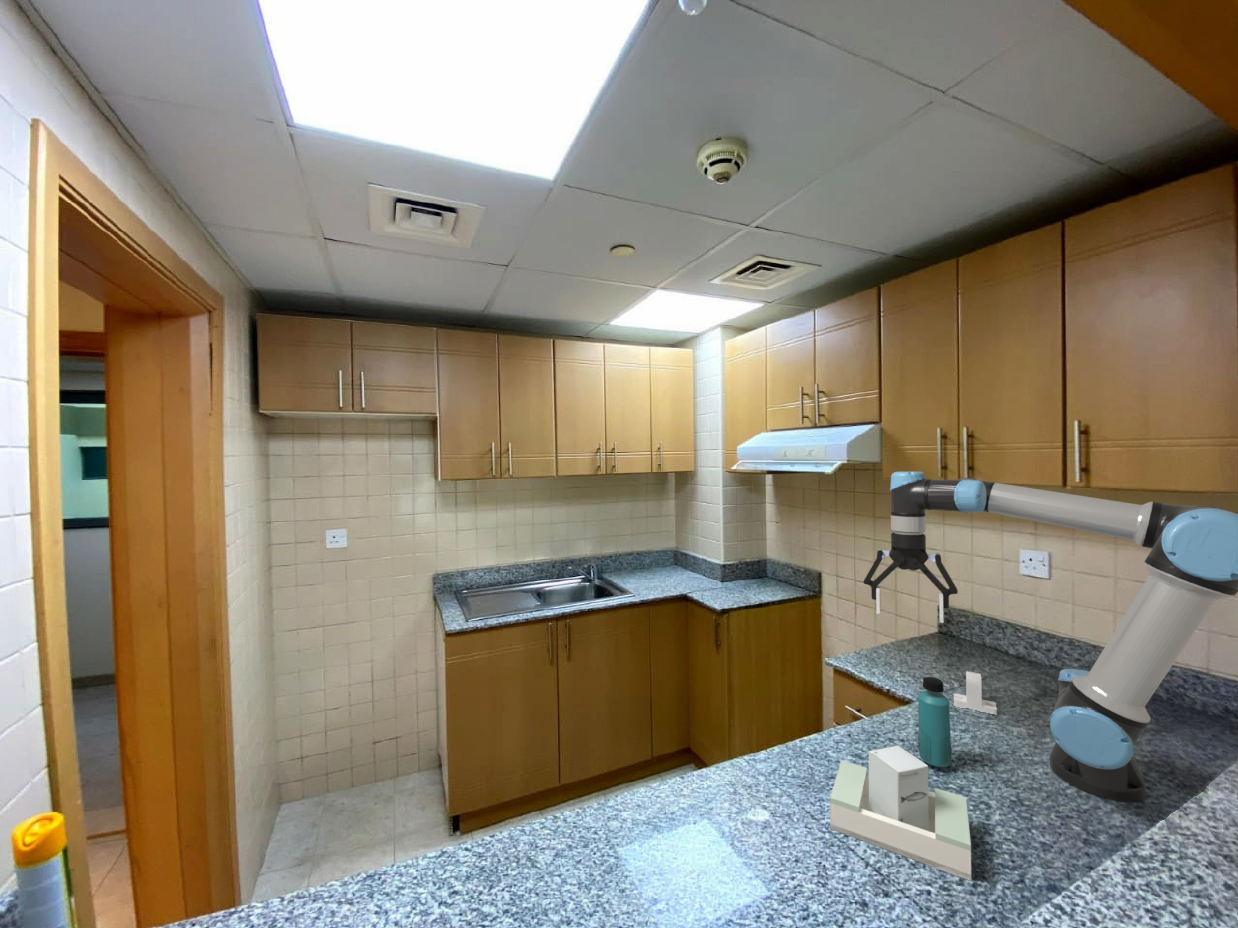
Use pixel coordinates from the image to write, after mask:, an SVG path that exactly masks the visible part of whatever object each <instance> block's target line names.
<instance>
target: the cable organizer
mask: <svg viewBox="0 0 1238 928" xmlns="http://www.w3.org/2000/svg"><path fill="white" fill-rule="evenodd" d="M965 672H966V673H965V686H966V687H965V691H966V693H965V694H966V695H965V694H961V693H957V692H956V693H953V707H954V706H956V707H955V708H957V707H960V708H959V709H961V708H969V709H973V710H977V711H980V712H986V713H990V714H995V715H997V716H998V707H997V703H996V702H995V701H992V700H987V699H982V697H983V696H982V692H983V691H982V689H983V688H982V685H983V684H982V674H981V673H979V672H973V671H970V670H969V671H968V670H966V671H965Z"/></svg>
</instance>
